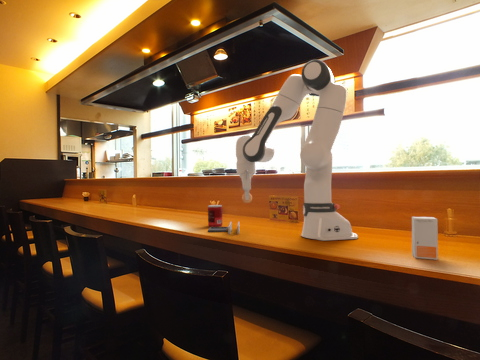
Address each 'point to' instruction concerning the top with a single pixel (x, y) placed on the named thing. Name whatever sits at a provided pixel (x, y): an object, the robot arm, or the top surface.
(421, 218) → the skincare box
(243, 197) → the ball
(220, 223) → the canned food
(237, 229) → the walls
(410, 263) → the top surface
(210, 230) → the coaster
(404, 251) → the top surface
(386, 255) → the top surface
